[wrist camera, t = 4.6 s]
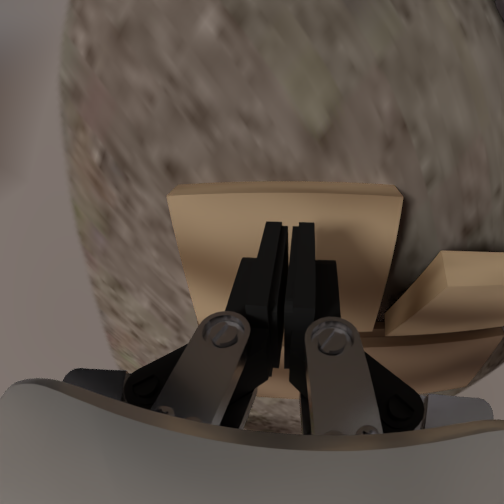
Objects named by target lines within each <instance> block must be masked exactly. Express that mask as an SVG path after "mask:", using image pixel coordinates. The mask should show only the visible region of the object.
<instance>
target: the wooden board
mask: <svg viewBox="0 0 504 504" xmlns="http://www.w3.org/2000/svg"><path fill="white" fill-rule="evenodd" d="M197 322H198V321H197ZM198 326H199V323H198ZM358 333H359V335H360V338H361V342H362V346H363V349H364V351H365V352H366V353H367V354H369V355H370V356H371V357H372V358H374V359H375V360H376V361H378V362H379V363H380V364H381V365H383V366H384V367H385V368H387V369H388V370H389V371H391V372H392V373H393V374H394V375H396V376H397V377H398V378H400V379H401V380H402V381H403V382H405V383H406V384H407V385H409V386H410V387H411V388H413V389H414V390H415V391H416V392H417V393H418V394H424V393H431V392H438V391H444V390H450V389H455V388H461V387H466V386H467V385H468V384H469V382H470V381H471V380H472V379H473V378H474V376H475V375H476V374H477V373H478V371H479V370H480V369H481V368H482V366H483V365H484V364H485V362H486V361H487V360H488V358H489V357H490V356H491V354H492V353H493V351H494V350H495V349H496V347H497V346H498V344H499V343H500V341H501V340H502V338H503V337H504V332H503V330H502V328H501V327H494V328H486V329H478V330H469V331H460V332H449V333H437V334H423V335H406V336H385V322H375V324H374V327H373V331H371V332H358ZM256 396H259V397H271V398H287V399H299V391H298V390H297V389H296V388H295V387H294V386H293V385H292V384H291V383H290V382H289V369H284V334H283V342H282V350H281V357H280V365H279V368H273V371H272V377H269V378H268V380H267V381H266V382H264V383H263V384H261V385H260V386H258V392H257V395H256Z"/></svg>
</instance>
